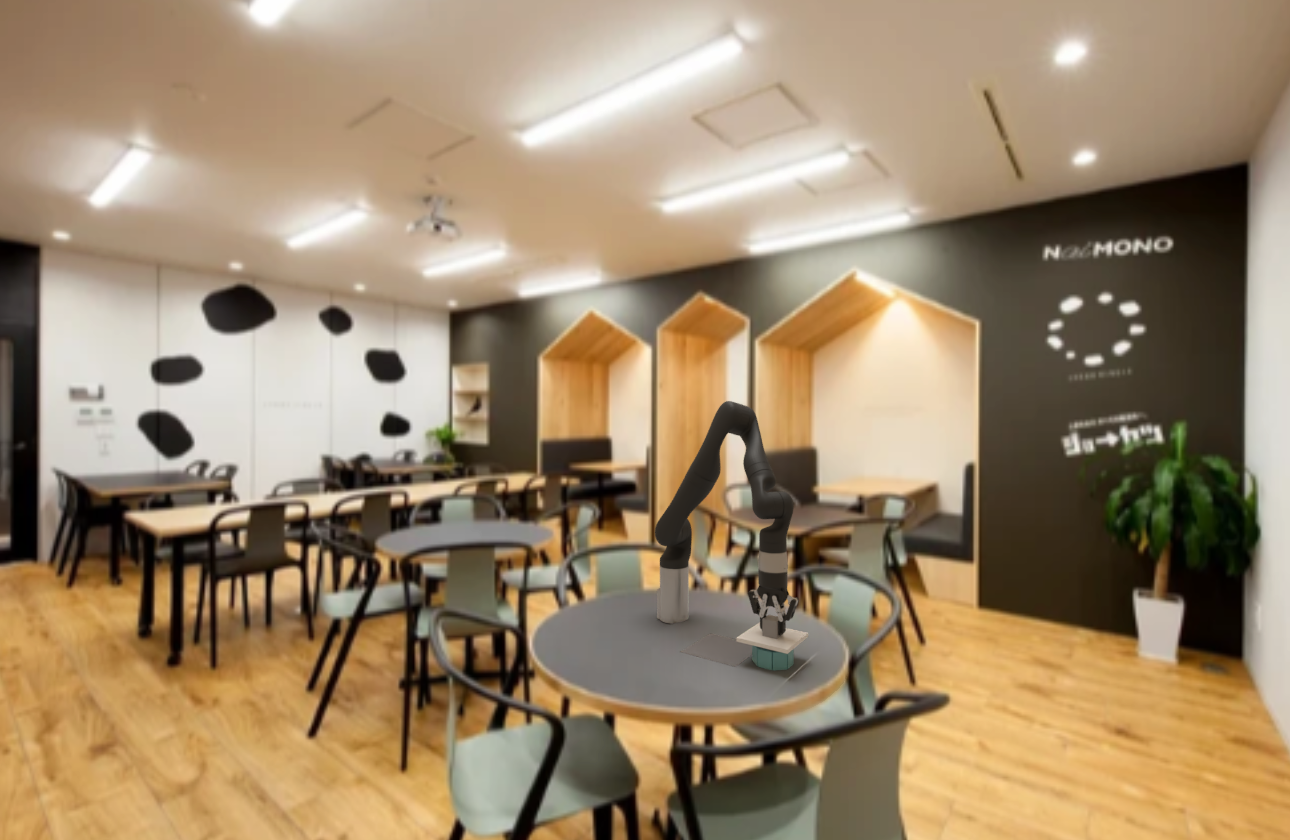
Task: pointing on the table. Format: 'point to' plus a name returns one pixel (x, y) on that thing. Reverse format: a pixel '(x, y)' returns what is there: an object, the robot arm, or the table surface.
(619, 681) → the table surface
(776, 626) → the lid
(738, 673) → the table surface
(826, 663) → the table surface
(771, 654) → the bowl
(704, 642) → the mat
